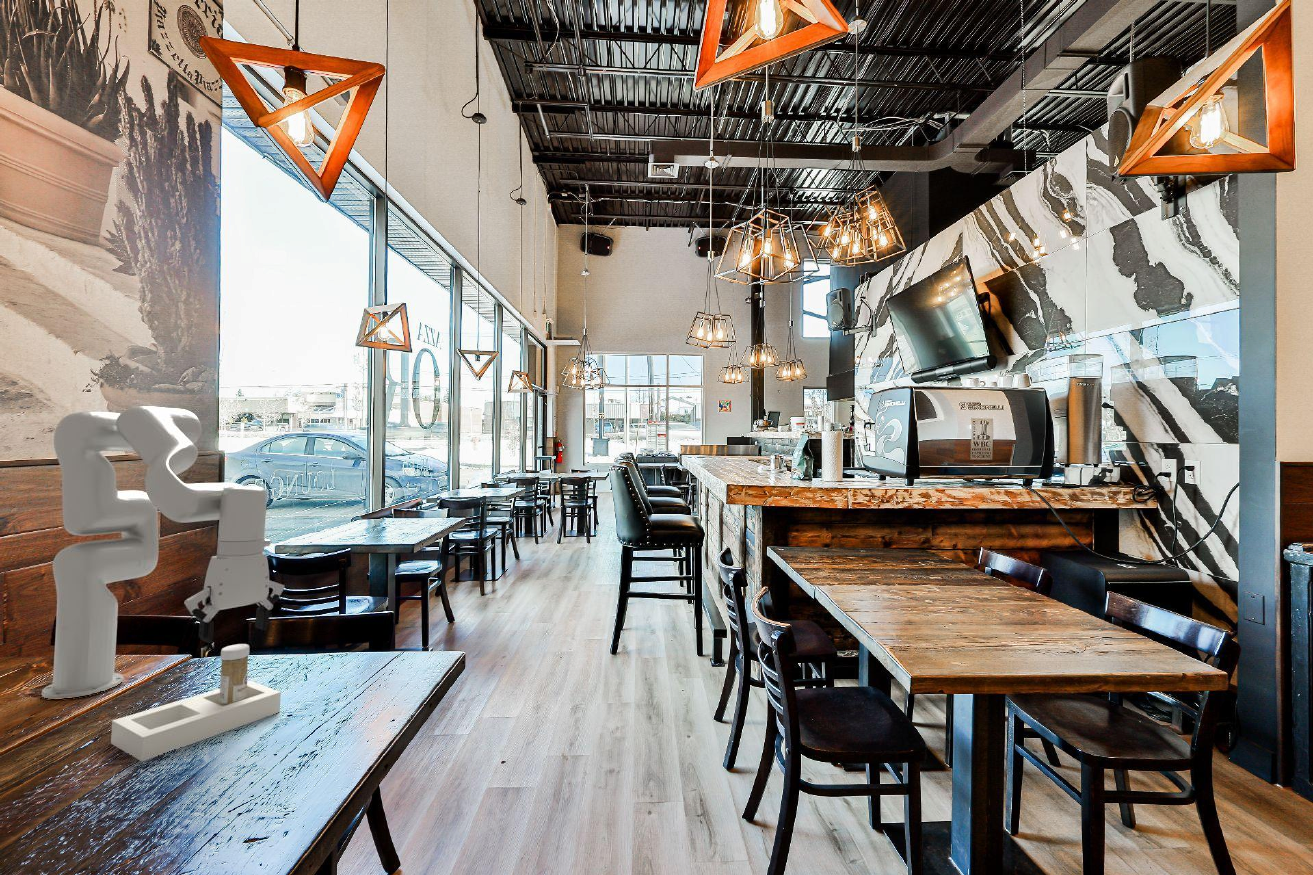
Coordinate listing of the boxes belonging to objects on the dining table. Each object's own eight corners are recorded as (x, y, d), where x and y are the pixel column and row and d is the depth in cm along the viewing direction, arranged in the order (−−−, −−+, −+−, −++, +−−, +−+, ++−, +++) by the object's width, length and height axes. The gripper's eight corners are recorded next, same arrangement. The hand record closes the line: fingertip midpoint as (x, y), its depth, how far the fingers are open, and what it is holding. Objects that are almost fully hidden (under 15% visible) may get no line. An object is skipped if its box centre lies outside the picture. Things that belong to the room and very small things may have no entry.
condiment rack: (110, 743, 102) (112, 720, 102) (247, 699, 122) (248, 680, 122) (141, 761, 97) (143, 737, 97) (279, 712, 116) (280, 692, 116)
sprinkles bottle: (246, 717, 113) (249, 648, 114) (216, 723, 111) (220, 652, 111) (246, 709, 117) (249, 641, 118) (218, 714, 115) (222, 645, 115)
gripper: (275, 541, 125) (270, 621, 124) (179, 551, 109) (172, 642, 109) (296, 545, 121) (290, 627, 121) (199, 556, 106) (192, 650, 105)
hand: (234, 634), depth 115 cm, fingers open, 9 cm apart
